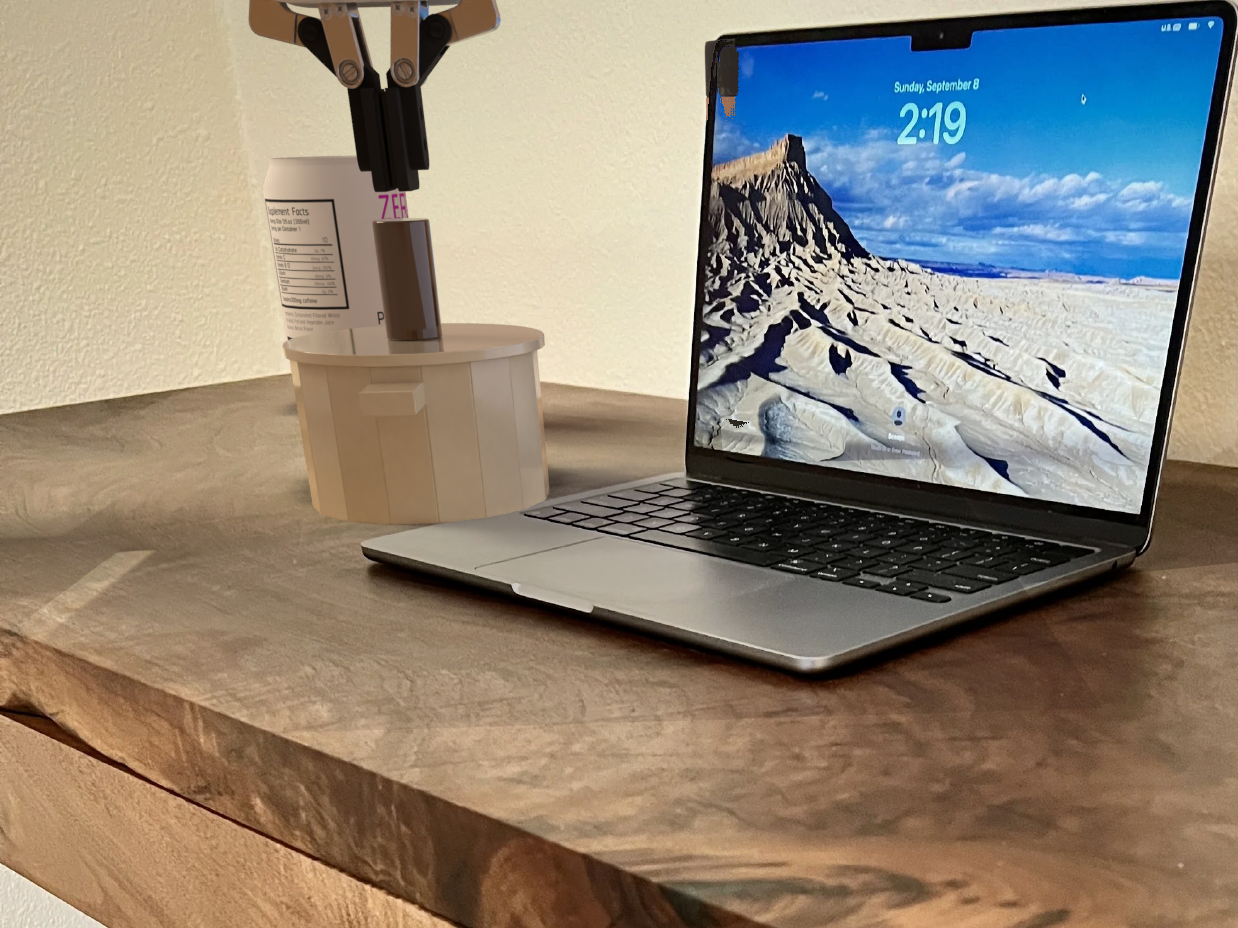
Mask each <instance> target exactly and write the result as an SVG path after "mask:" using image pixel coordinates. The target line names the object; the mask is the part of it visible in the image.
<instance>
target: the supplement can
mask: <svg viewBox="0 0 1238 928" xmlns="http://www.w3.org/2000/svg"><path fill="white" fill-rule="evenodd" d="M268 162H269V166H268V169H267V173H266V176H265V179H264V183H263V185H262V194H263V200H264V206H265V213H266V220H267V225H268V231H269V237H270V243H271V250H272V257H273V262H274V269H275V275H276V281H277V287H278V293H279V294H278V295H279V299H280V305H281V312H282V319H283V324H284V331H285V337H286V341H288V340H290V339H293V338H296V337H300V336H304V335H309V334H314V333H320V332H327V331H334V330H342V329H352V328H362V327H374V326H385V320H384V312H383V304H382V297H381V289H380V282H379V274H378V266H377V259H376V251H375V243H374V236H373V228H372V221H373V220H378V219H392V218H410V217H409V209H408V202H407V194H406V193H407V191H404V192H399V190H398V188H397V189H396V190H393V191H389V192H375V191H374V187H373V182H372V174H371V171H368V172H361V171H360V169H359V166H358V162H357V155H318V156H317V155H316V156H291V157H290V156H288V157H287V156H286V157H272V158H268Z"/></svg>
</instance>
